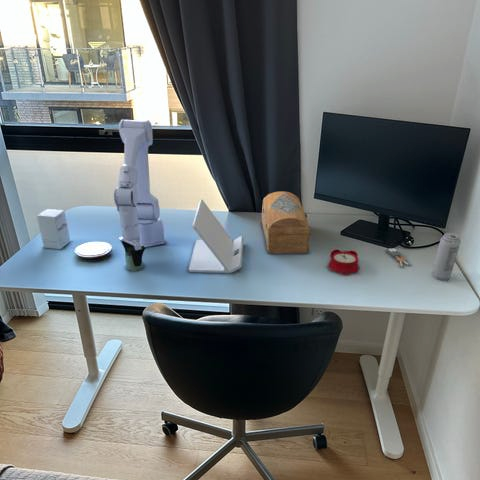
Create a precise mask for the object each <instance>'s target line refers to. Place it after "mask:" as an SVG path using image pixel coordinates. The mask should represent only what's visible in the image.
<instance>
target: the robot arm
mask: <svg viewBox="0 0 480 480" xmlns="http://www.w3.org/2000/svg"><path fill="white" fill-rule="evenodd" d="M118 131H119V136H120V138H121V141H122V143H123V144H124V150H123V151H124V153H123V154H124V155H123V157H124V158H123V165H121V166H120V167H119V174H118V175H119V176H118V181H117V183H118V184H117V187H116V188H115V189H114V192H113V200H114V204H115V206H116V211H117V212H118V215H119V223H120V230H121V236H119V237H118V240H119V242H121V244H122V247H123V248H124V250H125V249H126V248H127V249H128V251H129V252H130V254H131V257H132V260H133V263H134V266H135V267H136V266H141V262H142V261H143V255H144V252H145V251H146V248H148V247H153V246H159V245H163V244H166V240H165V230H164V224H163V220H162V219H161V218H160V215H161V214H160V213H161V208H160V204H159V199H158V198H157V197H156V196H154V195H153V194H152V193H151V184H150V183H151V182H150V167H149V164H150V163H149V147H150V146H152V145H153V142H154V137H153V126H152V122H150V120H149V119H146V120H137V119H121V120H120V121H119V125H118Z"/></svg>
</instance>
